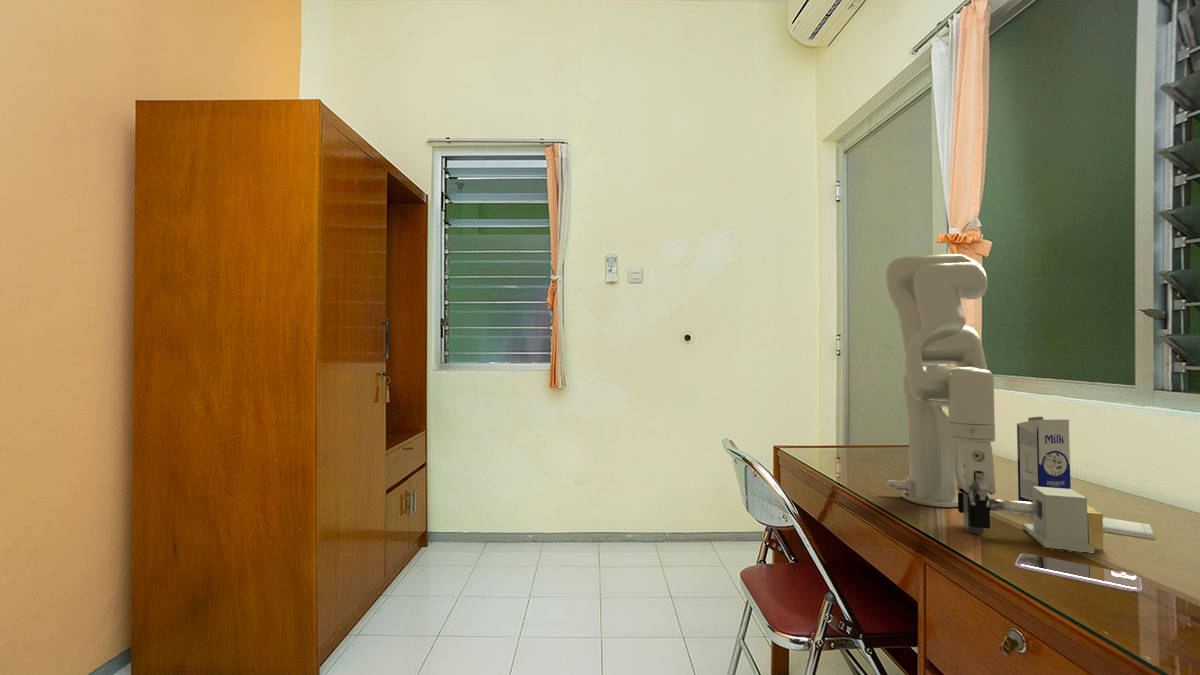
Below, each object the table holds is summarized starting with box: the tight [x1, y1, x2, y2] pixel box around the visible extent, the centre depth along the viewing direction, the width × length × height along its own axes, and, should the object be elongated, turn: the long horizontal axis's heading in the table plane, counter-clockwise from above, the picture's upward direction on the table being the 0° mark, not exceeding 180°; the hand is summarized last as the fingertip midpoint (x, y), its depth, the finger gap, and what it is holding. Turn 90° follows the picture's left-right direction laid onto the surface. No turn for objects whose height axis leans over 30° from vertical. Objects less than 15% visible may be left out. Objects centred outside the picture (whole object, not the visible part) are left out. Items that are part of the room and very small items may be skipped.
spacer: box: [1087, 504, 1104, 551], centre depth 101 cm, size 2×6×6 cm, turn 157°
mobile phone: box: [1014, 552, 1143, 593], centre depth 88 cm, size 8×1×15 cm
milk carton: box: [1016, 416, 1072, 502], centre depth 127 cm, size 7×7×20 cm
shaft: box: [963, 492, 1042, 535], centre depth 105 cm, size 16×4×7 cm, turn 67°
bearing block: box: [1022, 486, 1095, 553], centre depth 103 cm, size 7×12×9 cm, turn 157°
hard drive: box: [1103, 517, 1155, 540], centre depth 110 cm, size 2×8×12 cm
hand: (973, 520), depth 108 cm, fingers open, 9 cm apart
